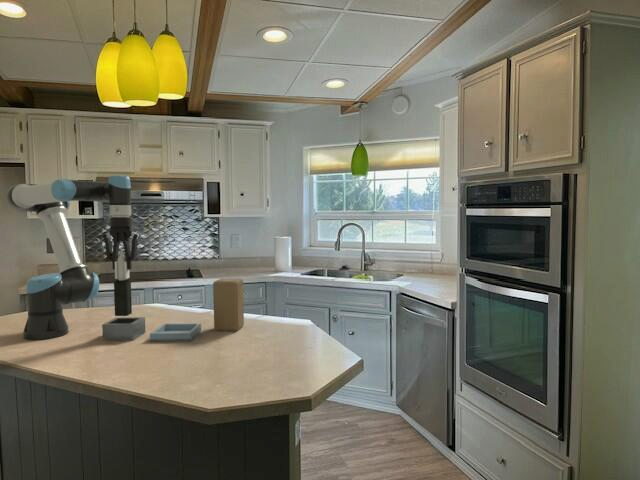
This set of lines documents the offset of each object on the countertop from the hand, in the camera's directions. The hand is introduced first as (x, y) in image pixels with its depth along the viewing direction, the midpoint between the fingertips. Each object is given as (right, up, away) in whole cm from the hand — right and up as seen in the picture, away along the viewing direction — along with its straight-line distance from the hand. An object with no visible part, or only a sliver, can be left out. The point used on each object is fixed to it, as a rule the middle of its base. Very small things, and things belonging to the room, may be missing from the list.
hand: (122, 278), depth 175 cm
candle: (0, -14, +1) cm, 14 cm away
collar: (0, -22, +1) cm, 23 cm away
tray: (+20, -22, +1) cm, 30 cm away
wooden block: (+38, -22, +12) cm, 46 cm away
